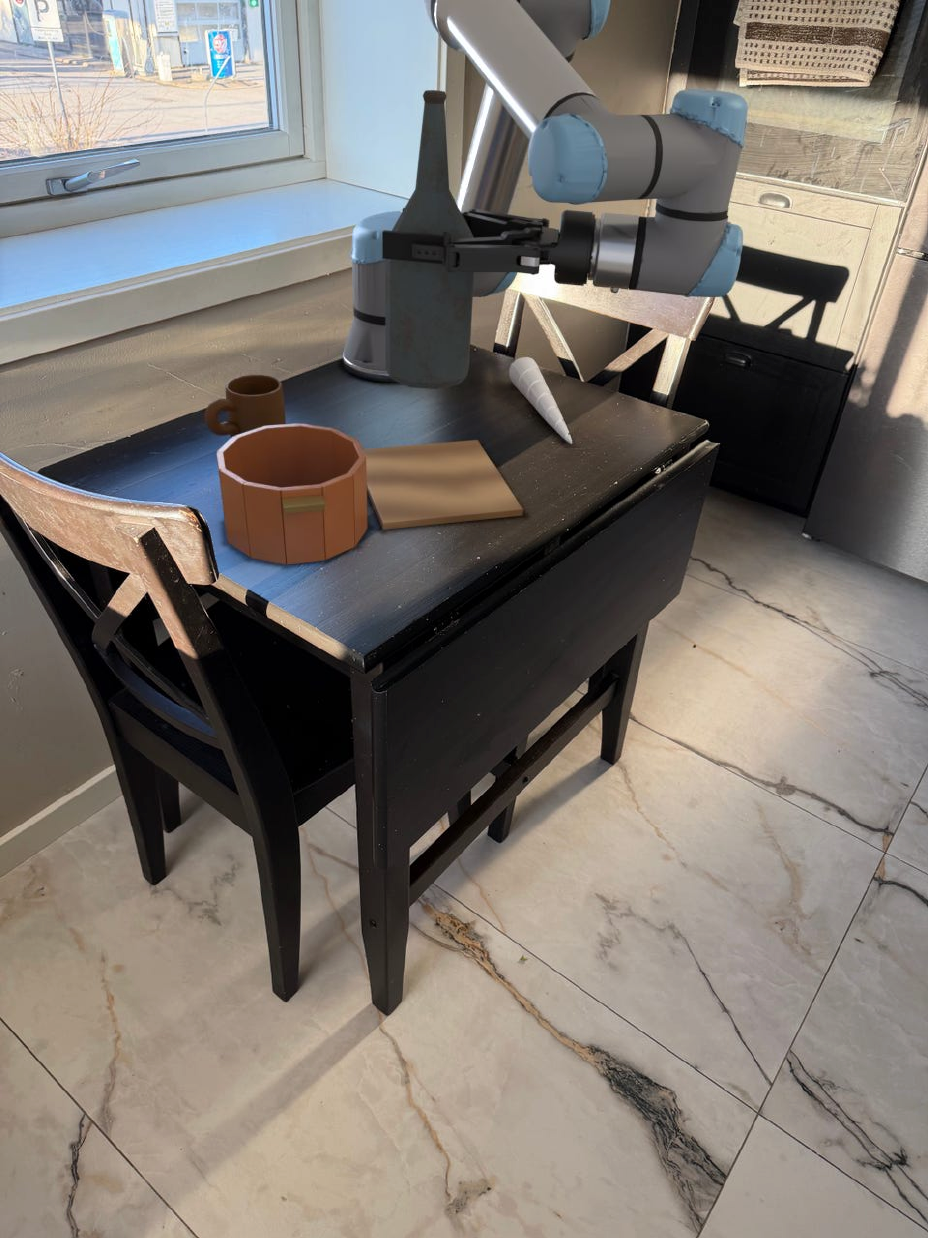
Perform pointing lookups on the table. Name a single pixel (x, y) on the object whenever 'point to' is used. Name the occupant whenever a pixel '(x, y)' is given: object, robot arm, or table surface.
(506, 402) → the table surface
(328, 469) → the ice bucket
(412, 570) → the table surface
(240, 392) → the mug
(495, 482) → the wooden board
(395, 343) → the bottle
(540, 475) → the table surface
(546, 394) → the unicorn horn
